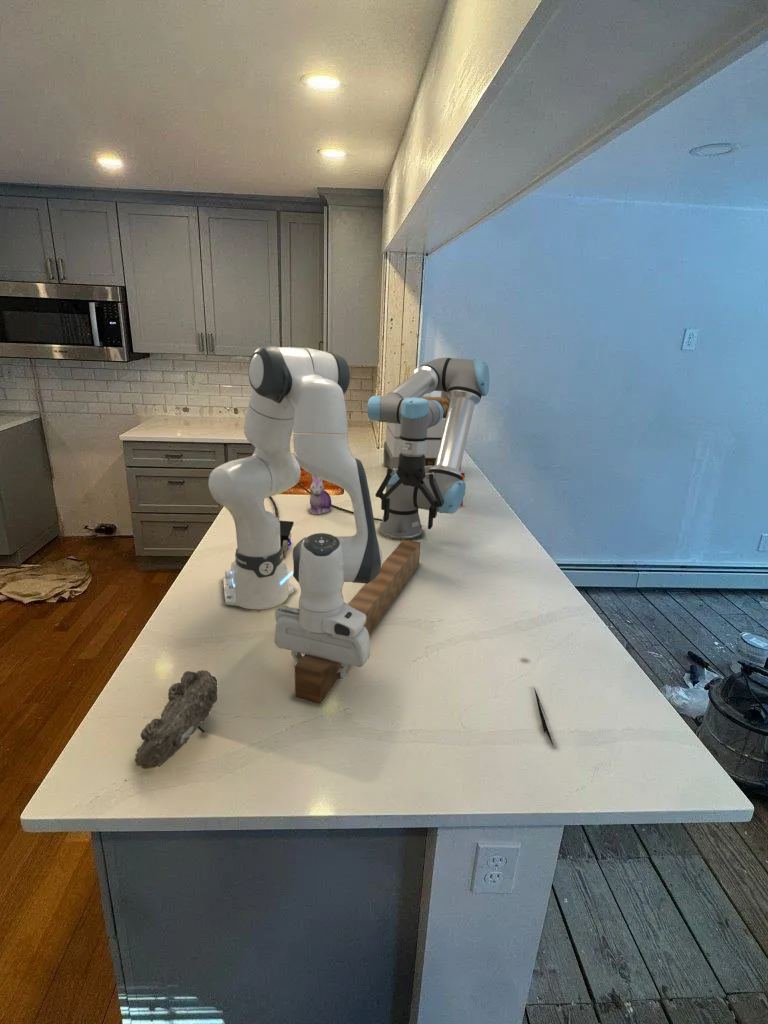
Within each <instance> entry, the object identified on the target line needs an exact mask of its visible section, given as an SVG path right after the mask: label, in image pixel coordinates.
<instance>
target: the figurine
mask: <svg viewBox="0 0 768 1024" xmlns="http://www.w3.org/2000/svg"><path fill="white" fill-rule="evenodd" d="M311 481H312V482H311V484H310V487H309V492H311V493H312V495H311V494H310V496H309V506H310V508H309V511H310V514H313V515H322V514H327V513H329V512H331V508H332V506H331V504H332V498H331V495H330V493H329V492H327V491H326V490H325V489H326V488H325V485H324V483H323V481H324V480H322V479H320V478H317V477H315V476H313V475H311Z"/></svg>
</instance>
